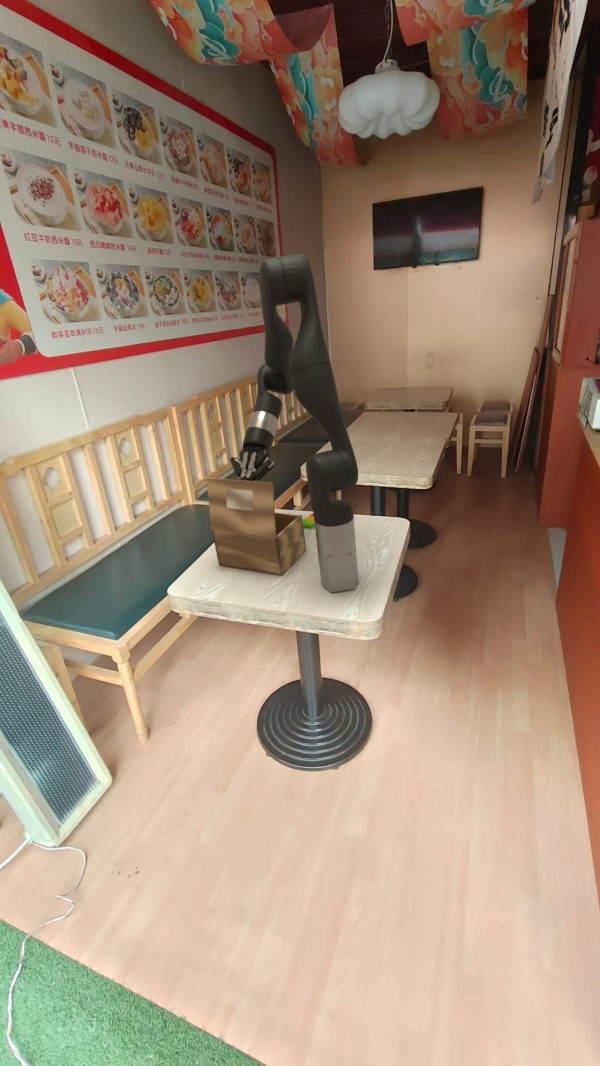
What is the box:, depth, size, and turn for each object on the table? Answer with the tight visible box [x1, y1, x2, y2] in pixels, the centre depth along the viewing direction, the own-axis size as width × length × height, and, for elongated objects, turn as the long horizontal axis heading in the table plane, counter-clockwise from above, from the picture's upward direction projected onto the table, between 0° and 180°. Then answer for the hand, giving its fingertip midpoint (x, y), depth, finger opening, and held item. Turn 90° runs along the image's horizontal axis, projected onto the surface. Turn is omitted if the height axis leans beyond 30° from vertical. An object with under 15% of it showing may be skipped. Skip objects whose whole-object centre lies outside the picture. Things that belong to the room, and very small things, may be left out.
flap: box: [206, 477, 276, 538], centre depth 131 cm, size 14×20×1 cm
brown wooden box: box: [211, 512, 307, 577], centre depth 141 cm, size 14×20×11 cm
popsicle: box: [302, 513, 315, 530], centre depth 160 cm, size 6×15×2 cm, turn 139°
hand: (243, 493), depth 131 cm, fingers closed
